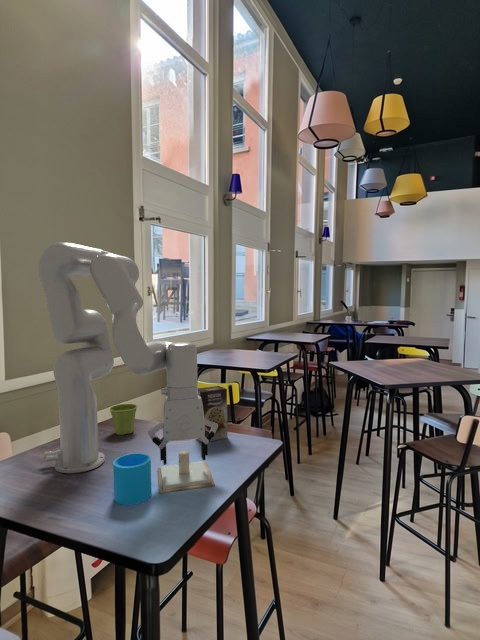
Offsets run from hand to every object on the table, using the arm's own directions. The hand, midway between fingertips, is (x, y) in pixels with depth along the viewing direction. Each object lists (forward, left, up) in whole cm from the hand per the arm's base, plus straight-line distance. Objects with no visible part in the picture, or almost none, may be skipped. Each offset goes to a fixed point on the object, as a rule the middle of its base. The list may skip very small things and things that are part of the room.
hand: (184, 460), depth 93 cm
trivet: (0, 0, -4) cm, 4 cm away
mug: (-13, -4, -5) cm, 14 cm away
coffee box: (+11, +26, -4) cm, 29 cm away
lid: (0, 0, -4) cm, 4 cm away
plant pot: (-17, +40, -5) cm, 44 cm away
